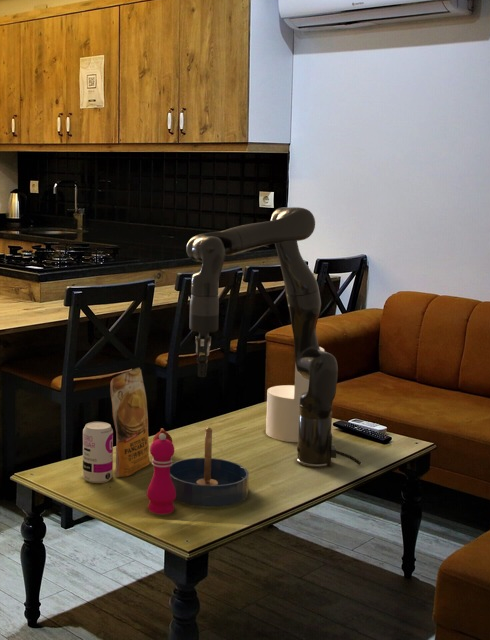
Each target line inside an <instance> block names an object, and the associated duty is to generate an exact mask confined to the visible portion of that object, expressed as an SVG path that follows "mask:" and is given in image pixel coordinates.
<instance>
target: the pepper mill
mask: <svg viewBox="0 0 490 640" xmlns="http://www.w3.org/2000/svg"><path fill="white" fill-rule="evenodd" d="M172 442H173V441H172ZM172 442H171V441H169V440H167V439H166V435H165V434H164V433H161V434H160V435H159V439H157V440H155V441H154V442H153V441H152V443H151V444H150V446H149V453H150V455H151V456H152V458H151V465H152V466H153V474H152V478H151V480H150V483H149V485H148V486H147V490H146V497H147V499H148V501H149V503H148V511H149V512H151V513H153V514H157V515H168V514H171V513H174V510H175V504H174V501H175V500H176V499H175V498H176V490H175V487H174V485H173V482H172V480H171V477H170V466H171V465H172V463H173V459H172V457H173V456H174V454H175V445H174V443H172Z"/></svg>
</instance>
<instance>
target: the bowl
mask: <svg viewBox="0 0 490 640" xmlns="http://www.w3.org/2000/svg"><path fill="white" fill-rule="evenodd" d="M204 459H205V457H192V458H191V457H190V458H184V459H180V460H177V461H174V462H172V465H171V466H170V477H171V480H172V482H173V485H174V487H175V490H176V498H175V500H176V501H178V502H180V503H184V504H186V505H187V504H188V505H191V506H197V507H206V508H207V507H209V508H219V507H228V506H233V505H236V504H240V503H241V502H243V501H245V500H246V499H247V498H248V496H249V480H250V479H249V478H250V477H249V476H250V475H249V472H250V471H248V469H247V468H246V467H245V466H243V465H241V464H239V463H237V462H233V461H230V460H226V459H223V458H222V459H221V458H214V457H211V479H213V480H216V481H217V482H218V485H201V484H197V480H199V479H204Z"/></svg>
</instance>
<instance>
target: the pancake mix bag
mask: <svg viewBox="0 0 490 640" xmlns="http://www.w3.org/2000/svg"><path fill="white" fill-rule="evenodd" d="M109 384H110V386H109V387H110V388H109V392H110V399H111V406H112V419H113V425H114V429H115V438H116V439H115V441H116V442H115V443H116V445H115V469H114V475H115V477H116V478H121V477H129V476H132V475H134V474H136V473H137V471H140V470H141V469H142V468H145V467H147V466H149V465H150V464H151V461H150V456H149V455H150V454H149V453H150V444H149V443H150V442H149V440H150V438H149V414H148V401H147V400H148V399H147V393H146V388H145V384H144V377H143V372H142V369H141V367H135V368H133V369H131V370H128V371H124V372H122V373H121V374H118V375H116V376H115V377H113V378H112V379H111V380H110V383H109Z"/></svg>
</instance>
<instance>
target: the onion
mask: <svg viewBox="0 0 490 640" xmlns="http://www.w3.org/2000/svg"><path fill="white" fill-rule="evenodd" d="M161 433H164V434H165V435H166V439H167V440H169V441H171V442H172V444H174V443H173V437H172V436H171V435H170V433H168V432H167V431H166V430H165V428H160V431H158V432H157V433H156V434H155V435H154V436H153V439H152V443H153V442H154V441H155V440H157V439H159V435H160V434H161Z"/></svg>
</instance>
